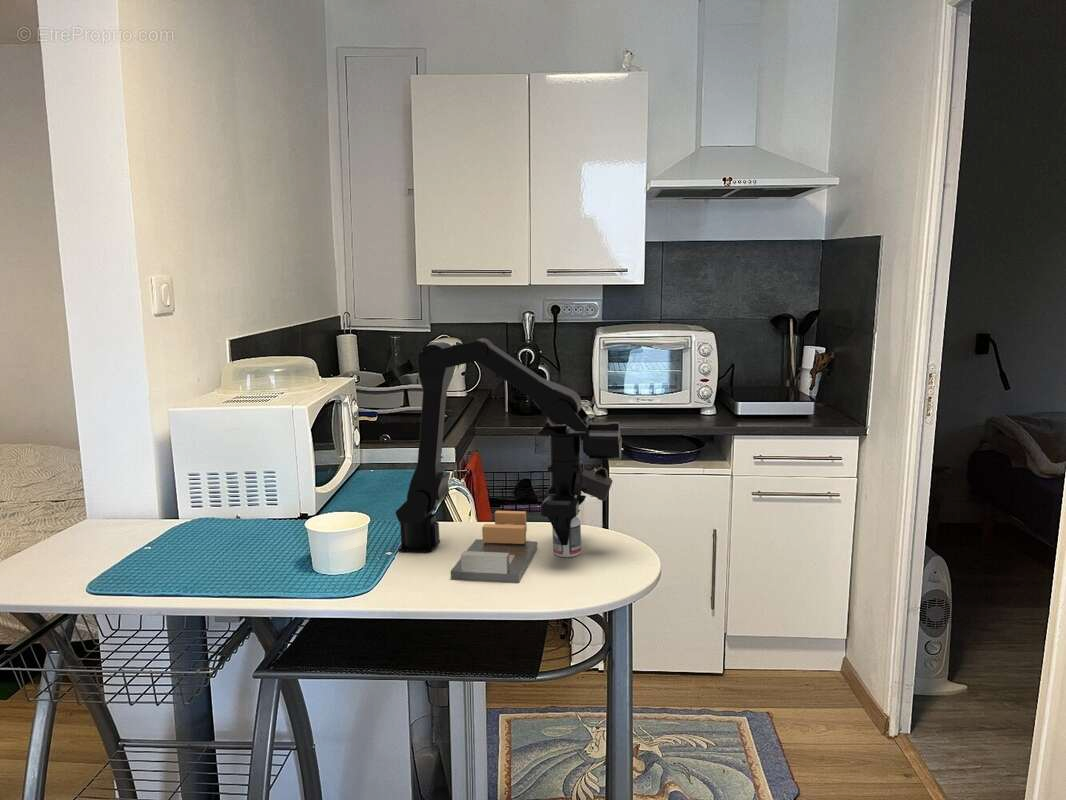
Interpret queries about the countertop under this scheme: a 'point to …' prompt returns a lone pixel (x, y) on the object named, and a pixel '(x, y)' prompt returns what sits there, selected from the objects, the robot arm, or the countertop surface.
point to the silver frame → (494, 561)
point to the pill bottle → (569, 541)
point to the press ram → (506, 528)
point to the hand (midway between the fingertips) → (566, 540)
